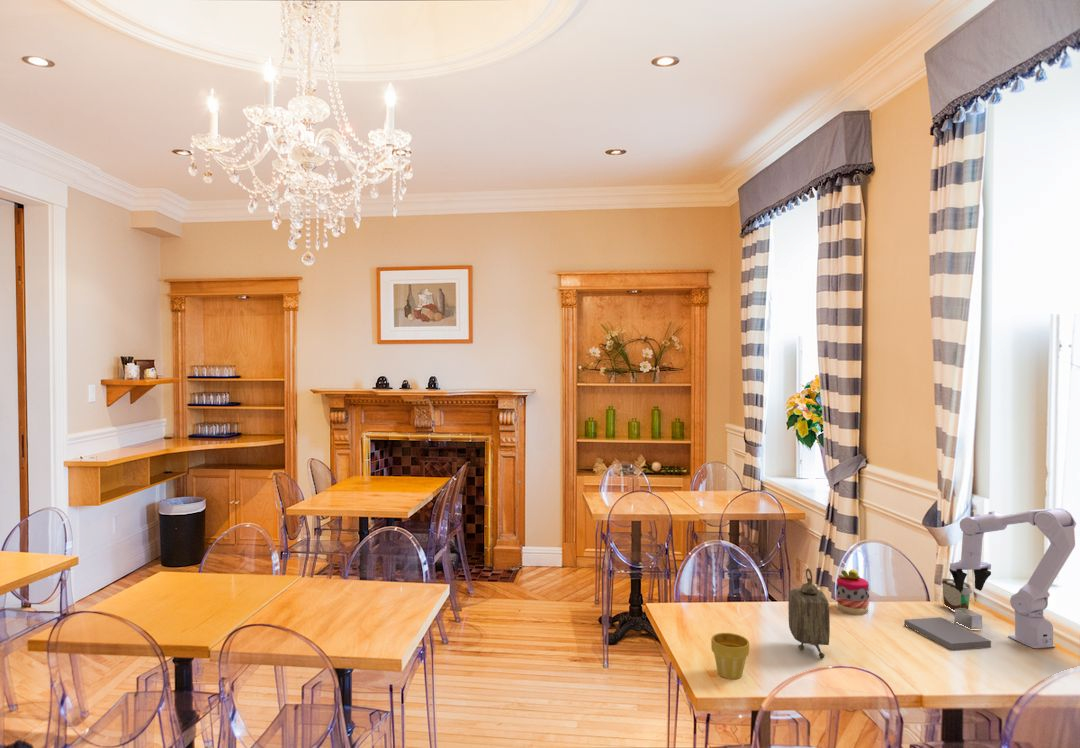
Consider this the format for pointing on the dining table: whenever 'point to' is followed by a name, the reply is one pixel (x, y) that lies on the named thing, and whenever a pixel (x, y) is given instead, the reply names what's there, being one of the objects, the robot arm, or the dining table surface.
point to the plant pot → (730, 654)
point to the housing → (968, 618)
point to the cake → (852, 593)
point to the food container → (955, 594)
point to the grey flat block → (948, 633)
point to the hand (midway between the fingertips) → (968, 589)
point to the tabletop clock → (809, 615)
